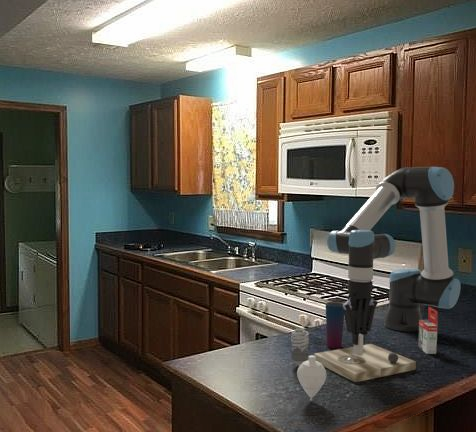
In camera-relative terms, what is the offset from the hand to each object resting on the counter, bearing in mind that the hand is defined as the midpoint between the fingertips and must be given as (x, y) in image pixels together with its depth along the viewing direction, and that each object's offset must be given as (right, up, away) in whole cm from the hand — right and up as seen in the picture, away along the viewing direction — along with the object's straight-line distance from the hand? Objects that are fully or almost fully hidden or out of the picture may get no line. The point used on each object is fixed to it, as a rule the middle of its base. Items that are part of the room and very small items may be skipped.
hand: (358, 354), depth 167 cm
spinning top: (-18, -6, -26) cm, 33 cm away
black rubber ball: (+10, 0, -3) cm, 11 cm away
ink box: (+28, -3, +17) cm, 33 cm away
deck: (+2, -4, +1) cm, 5 cm away
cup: (-4, -3, +21) cm, 21 cm away
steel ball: (-3, -2, -1) cm, 4 cm away
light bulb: (-18, -4, 0) cm, 19 cm away
